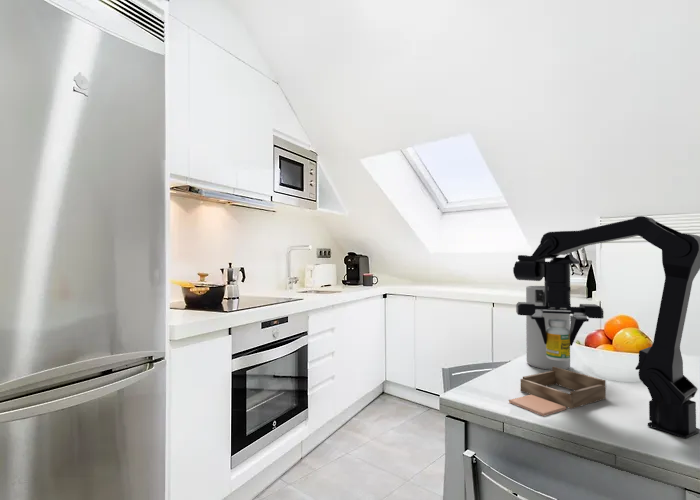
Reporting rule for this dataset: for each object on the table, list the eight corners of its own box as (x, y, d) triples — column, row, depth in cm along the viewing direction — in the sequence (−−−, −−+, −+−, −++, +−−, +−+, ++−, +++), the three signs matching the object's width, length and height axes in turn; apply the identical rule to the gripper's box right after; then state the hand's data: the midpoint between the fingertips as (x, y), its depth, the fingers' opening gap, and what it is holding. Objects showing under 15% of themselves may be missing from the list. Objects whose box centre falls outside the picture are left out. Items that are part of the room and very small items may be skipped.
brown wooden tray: (605, 398, 96) (605, 380, 96) (571, 408, 90) (571, 389, 90) (554, 382, 108) (554, 366, 108) (520, 390, 102) (520, 373, 102)
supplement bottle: (553, 354, 101) (553, 317, 102) (574, 359, 97) (574, 320, 97) (541, 357, 99) (541, 319, 99) (562, 362, 94) (562, 322, 94)
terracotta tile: (566, 409, 89) (566, 406, 89) (543, 416, 85) (543, 413, 85) (531, 396, 97) (531, 394, 97) (509, 402, 93) (509, 399, 93)
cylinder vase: (537, 358, 134) (536, 285, 135) (576, 366, 125) (576, 287, 125) (519, 364, 126) (518, 287, 127) (560, 373, 117) (559, 289, 117)
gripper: (590, 280, 103) (591, 340, 103) (514, 279, 109) (514, 336, 108) (603, 283, 92) (604, 350, 92) (518, 282, 98) (518, 344, 98)
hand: (557, 344), depth 98 cm, fingers closed on supplement bottle, 5 cm apart
